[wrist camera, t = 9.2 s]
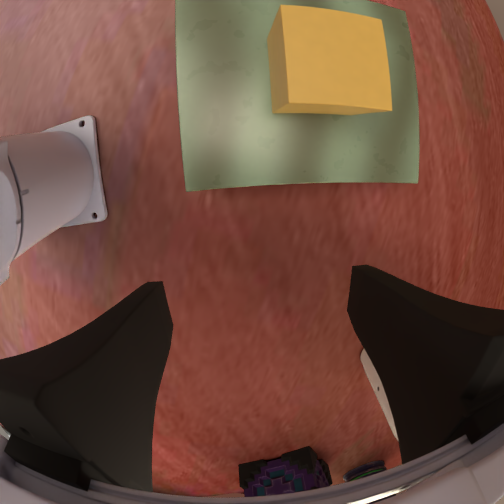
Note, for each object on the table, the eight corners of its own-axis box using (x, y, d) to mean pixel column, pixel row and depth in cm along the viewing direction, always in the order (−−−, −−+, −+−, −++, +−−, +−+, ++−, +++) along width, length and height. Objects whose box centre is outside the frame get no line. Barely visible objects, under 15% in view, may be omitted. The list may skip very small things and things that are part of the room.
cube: (271, 113, 13) (288, 103, 9) (266, 38, 11) (279, 4, 7) (351, 115, 13) (393, 111, 9) (345, 44, 12) (382, 19, 7)
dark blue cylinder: (365, 461, 40) (384, 518, 27) (392, 458, 43) (411, 508, 29) (333, 480, 44) (347, 532, 30) (362, 477, 46) (377, 524, 32)
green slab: (196, 179, 19) (185, 192, 14) (186, 21, 14) (175, -6, 10) (384, 172, 19) (418, 183, 15) (375, 28, 14) (405, 11, 10)
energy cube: (268, 481, 40) (274, 531, 29) (238, 464, 35) (242, 526, 24) (327, 464, 38) (341, 516, 27) (308, 446, 34) (323, 511, 23)
